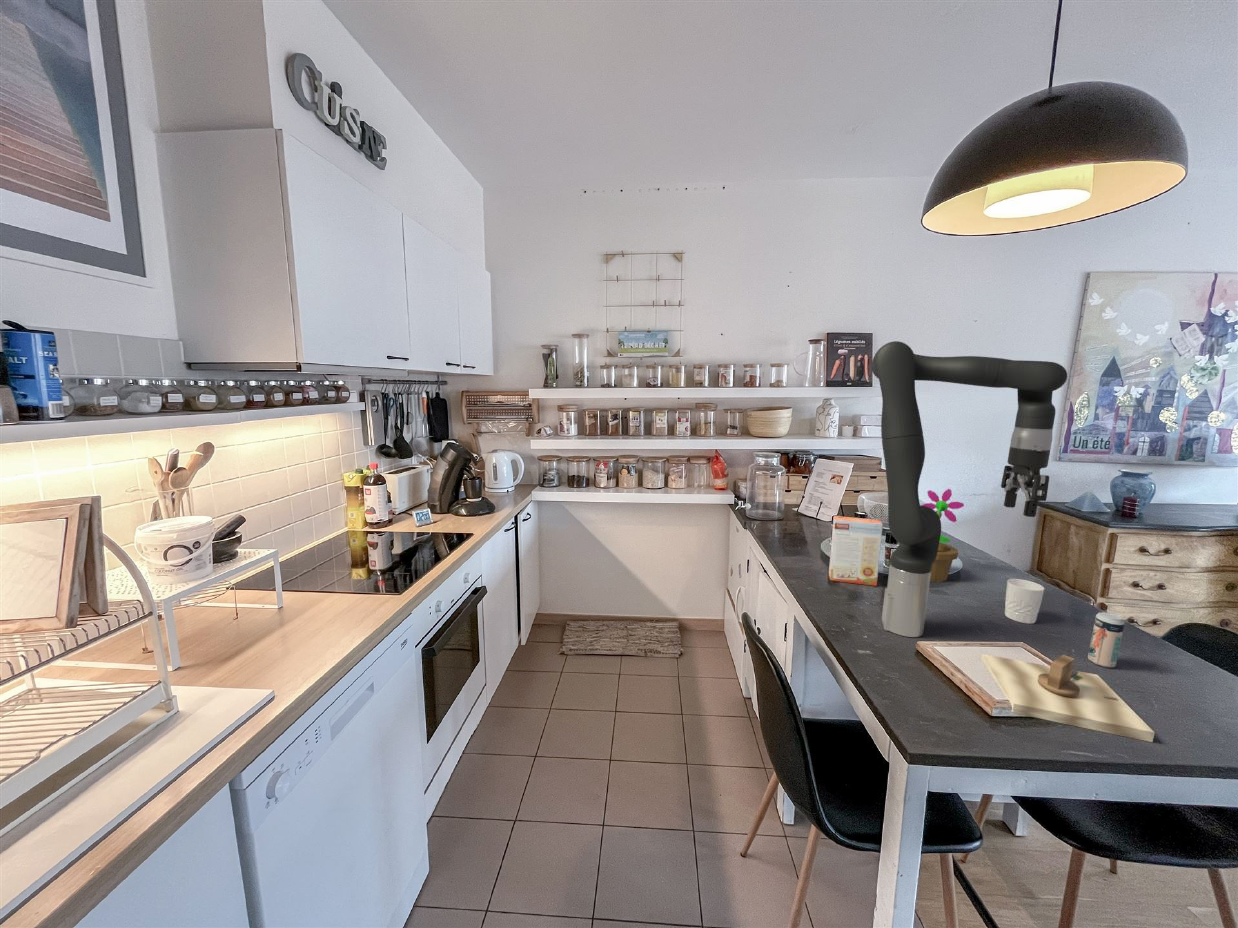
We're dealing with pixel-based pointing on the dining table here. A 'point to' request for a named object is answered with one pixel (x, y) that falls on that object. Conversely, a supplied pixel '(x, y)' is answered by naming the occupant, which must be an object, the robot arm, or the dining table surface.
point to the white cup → (1023, 600)
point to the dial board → (1066, 699)
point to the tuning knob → (1060, 677)
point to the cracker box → (855, 550)
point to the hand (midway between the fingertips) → (1018, 511)
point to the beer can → (1106, 639)
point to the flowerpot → (944, 551)
